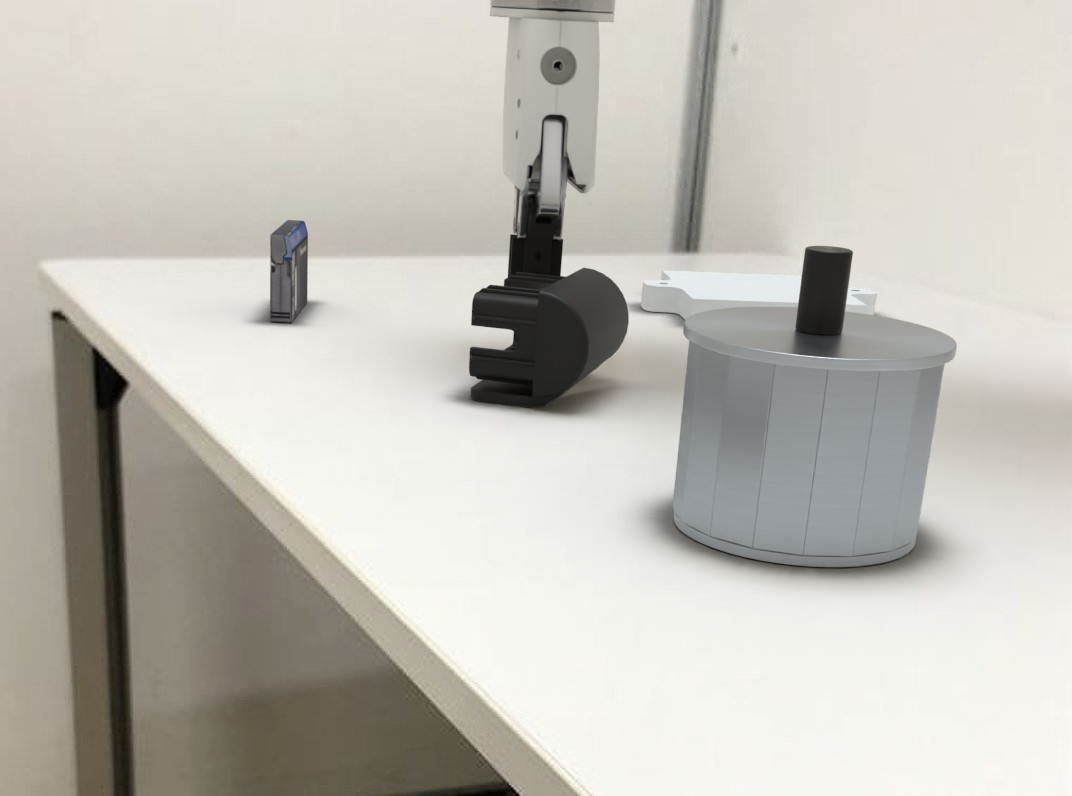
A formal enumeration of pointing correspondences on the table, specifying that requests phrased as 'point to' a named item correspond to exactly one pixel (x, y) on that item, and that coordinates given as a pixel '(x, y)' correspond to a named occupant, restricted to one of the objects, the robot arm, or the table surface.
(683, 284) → the mounting plate
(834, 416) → the pot
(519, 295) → the end cap
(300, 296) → the mini dv tape
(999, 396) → the table surface
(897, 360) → the pot lid
